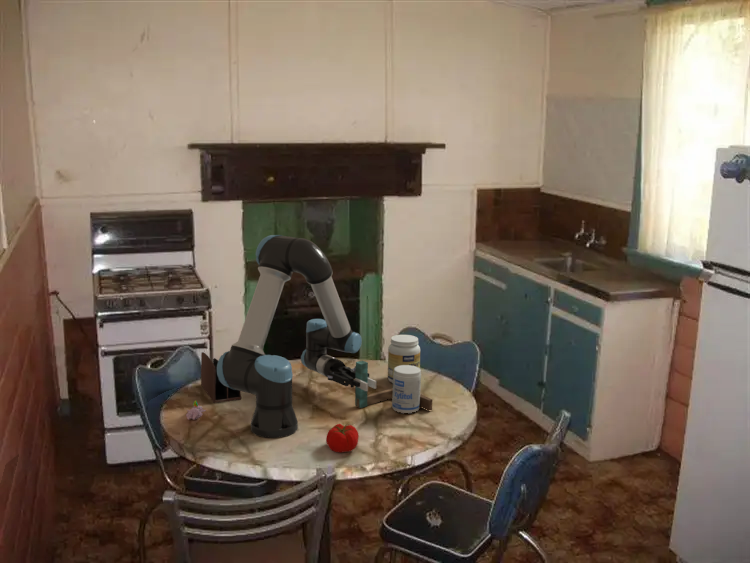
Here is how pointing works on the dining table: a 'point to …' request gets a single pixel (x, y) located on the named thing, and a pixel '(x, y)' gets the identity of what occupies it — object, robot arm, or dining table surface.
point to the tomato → (342, 438)
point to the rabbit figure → (195, 411)
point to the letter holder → (215, 382)
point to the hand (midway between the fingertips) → (371, 386)
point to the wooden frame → (365, 399)
